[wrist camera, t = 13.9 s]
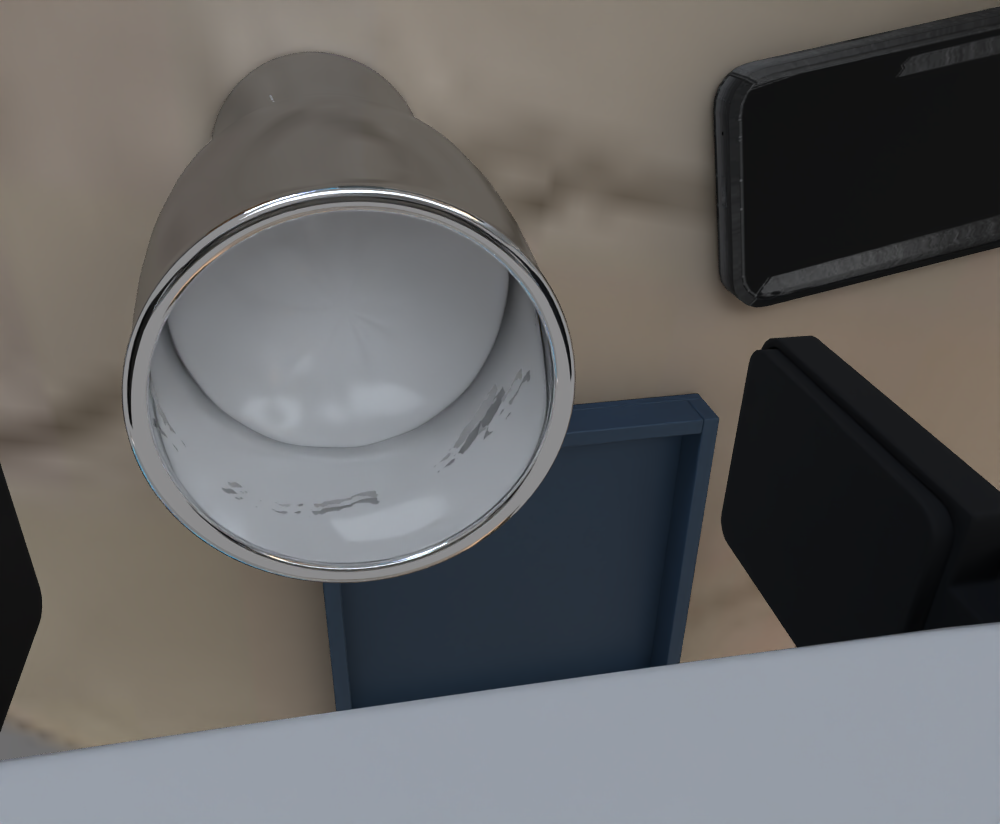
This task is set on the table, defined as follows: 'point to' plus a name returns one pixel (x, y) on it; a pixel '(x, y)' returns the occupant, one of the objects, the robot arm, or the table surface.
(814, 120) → the phone
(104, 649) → the table surface
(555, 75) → the table surface
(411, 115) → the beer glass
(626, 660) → the tray
